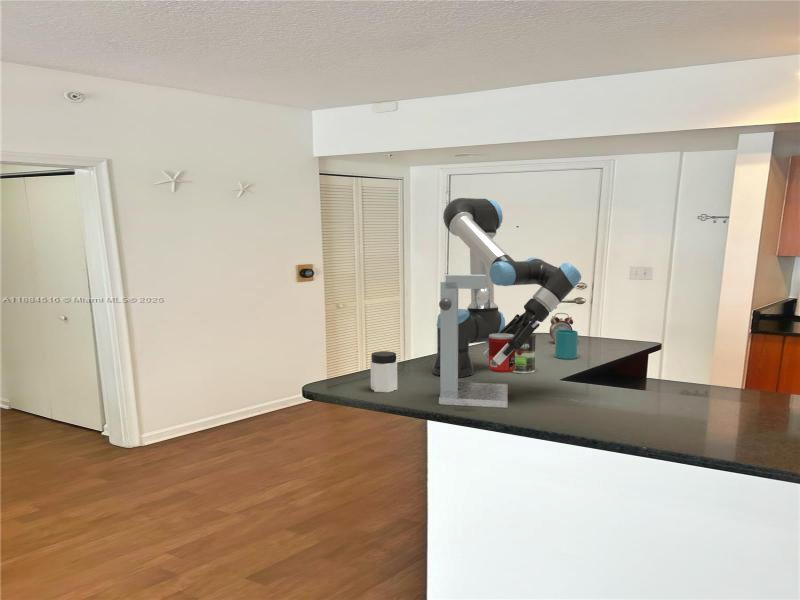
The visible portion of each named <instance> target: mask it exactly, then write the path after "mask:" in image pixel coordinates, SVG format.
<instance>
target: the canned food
mask: <svg viewBox="0 0 800 600" xmlns="http://www.w3.org/2000/svg"><path fill="white" fill-rule="evenodd" d="M513 336H514V335H513V334H507V333H495V334H490V335H489V342H488V348H489V359H488V369H489V371H490V372H493V373H498V374H502V373H503V374H504V373H507V374H508V373H514V372H513V371H514V369H515V349H514V350H513V351H512V352H511V353H510V355H509V356H508V357H507V358H506V359H505V360H504V361H503V362H502V363H501V364H500V365H498V364H497V363H496V362H495V361H494V360H493V358H494V357H495V356H496V355H497V354H498V353H499V351H500V350H501V349H502V348H503V347H504V346H505V345H506V344H507V343H508V341H511V340H512V338H513ZM508 344H509V343H508ZM509 345H510V344H509Z"/></svg>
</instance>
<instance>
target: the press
mask: <svg viewBox="0 0 800 600" xmlns="http://www.w3.org/2000/svg"><path fill="white" fill-rule="evenodd" d="M444 277H445V279H444V280H442V281H440V282H439V283H440V289H439V290H440V297H439V298H440V300H439V303H438V305H439V308H440V313H439V314H440V376H439V377H440V379H439V380H440V381H439V382H440V384H439V385H440V386H439V387H440V389H439V390H440V394H439V396H438V404H439V405H445V406H447V405H449V406H462V407H463V406H466V407H484V408H504V409H505V408H506V409H508V398H509V397H508V393H509V392H508V391H509V390H508V387H509V386H508V383H490V382H487V383H486V382H469V381H468V382H466V381H465V382H464V381H459V377H458V309H459V290H460V289H463V290H464V289H466V290H467V289H469V290H471V289H474V308H478V309H487V308H490V288H486V275H471V274H445V276H444Z"/></svg>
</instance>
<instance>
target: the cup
mask: <svg viewBox="0 0 800 600" xmlns="http://www.w3.org/2000/svg"><path fill="white" fill-rule="evenodd" d="M578 336H579V332H578V330H573V329H572V330H556V331H555V344H554V357H555V358H556V359H560V360H575V359H577V358H578V346H579V338H578Z"/></svg>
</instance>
